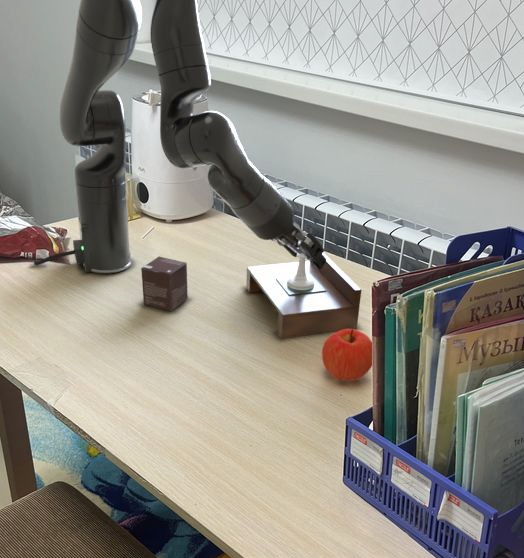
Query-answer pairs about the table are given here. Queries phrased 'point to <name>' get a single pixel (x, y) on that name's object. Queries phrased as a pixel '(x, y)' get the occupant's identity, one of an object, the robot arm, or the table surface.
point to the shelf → (308, 297)
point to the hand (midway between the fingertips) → (309, 258)
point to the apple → (347, 354)
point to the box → (164, 283)
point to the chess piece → (300, 276)
